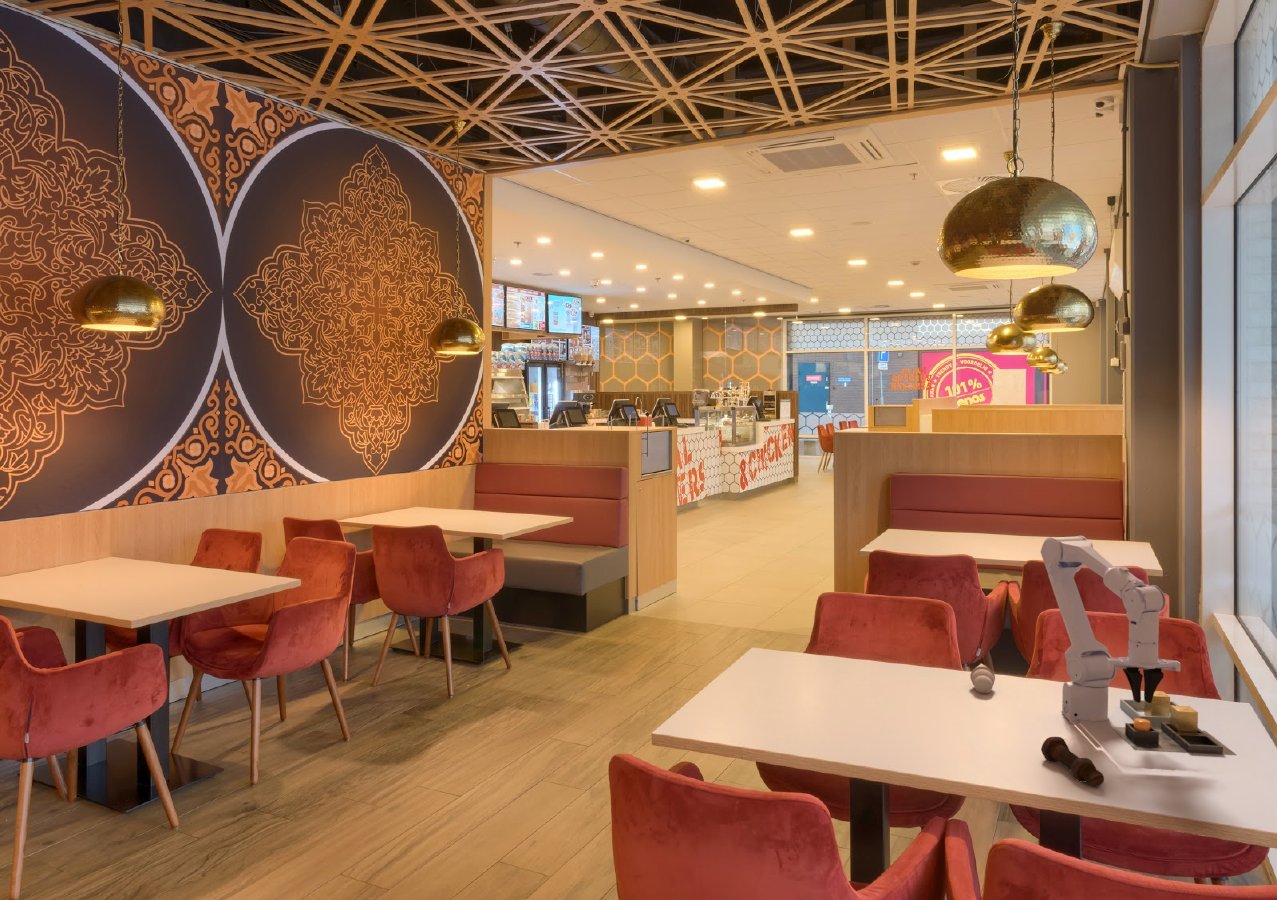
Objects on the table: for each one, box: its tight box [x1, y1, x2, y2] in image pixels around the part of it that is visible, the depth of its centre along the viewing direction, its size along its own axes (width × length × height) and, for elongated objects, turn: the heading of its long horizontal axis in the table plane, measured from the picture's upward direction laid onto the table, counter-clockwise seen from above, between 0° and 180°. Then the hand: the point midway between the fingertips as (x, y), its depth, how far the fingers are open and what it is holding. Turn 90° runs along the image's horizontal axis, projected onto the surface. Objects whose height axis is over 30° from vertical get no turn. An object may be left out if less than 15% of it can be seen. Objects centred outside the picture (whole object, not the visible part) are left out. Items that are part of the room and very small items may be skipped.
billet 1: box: [1143, 690, 1171, 717], centre depth 207 cm, size 4×4×6 cm
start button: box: [1133, 718, 1150, 731], centre depth 194 cm, size 3×3×2 cm
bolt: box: [1040, 736, 1105, 788], centre depth 178 cm, size 6×5×15 cm
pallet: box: [1110, 722, 1237, 756], centre depth 193 cm, size 20×14×4 cm
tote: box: [1119, 698, 1180, 727], centre depth 207 cm, size 12×12×3 cm
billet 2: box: [1170, 705, 1199, 733], centre depth 196 cm, size 4×4×6 cm
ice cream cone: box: [969, 663, 996, 695], centre depth 234 cm, size 6×6×15 cm
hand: (1142, 701), depth 194 cm, fingers closed
